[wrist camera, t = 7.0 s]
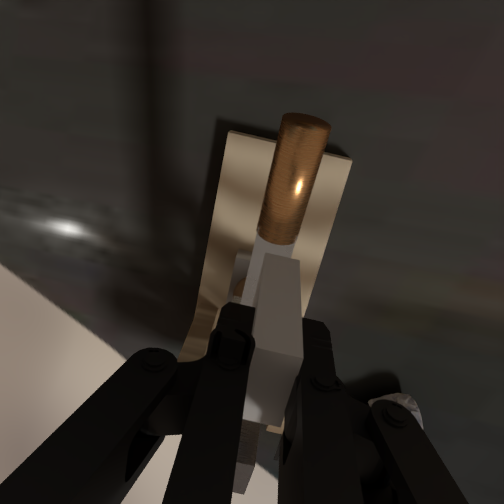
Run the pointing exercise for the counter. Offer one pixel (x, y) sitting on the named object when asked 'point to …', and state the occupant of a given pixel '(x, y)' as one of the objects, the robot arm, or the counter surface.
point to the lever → (280, 231)
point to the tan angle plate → (244, 232)
